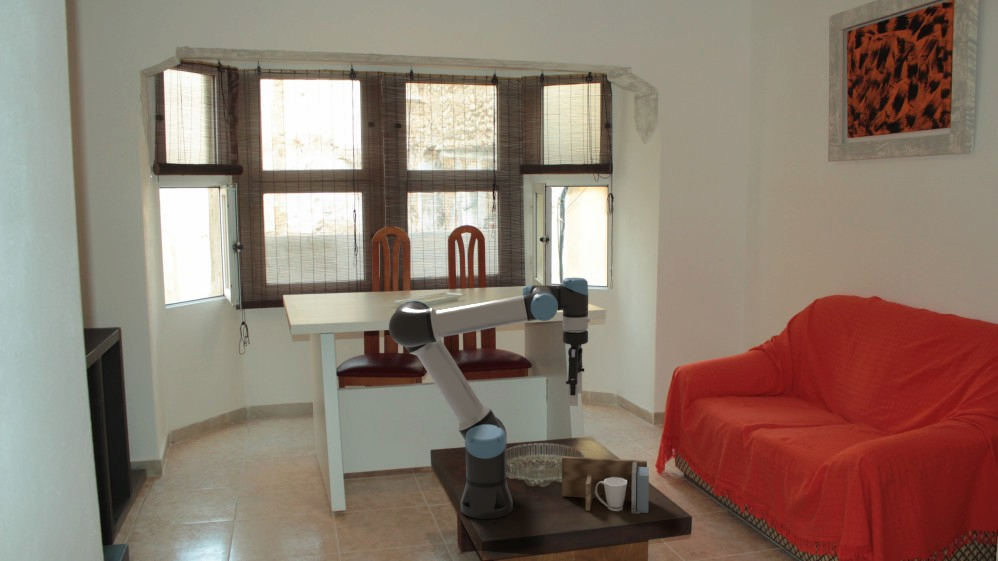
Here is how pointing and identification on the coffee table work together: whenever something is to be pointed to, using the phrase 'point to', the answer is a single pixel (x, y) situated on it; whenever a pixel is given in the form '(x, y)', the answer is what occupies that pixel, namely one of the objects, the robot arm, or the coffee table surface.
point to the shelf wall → (595, 474)
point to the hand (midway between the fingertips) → (575, 399)
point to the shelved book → (643, 489)
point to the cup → (613, 492)
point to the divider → (588, 492)
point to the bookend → (634, 489)
